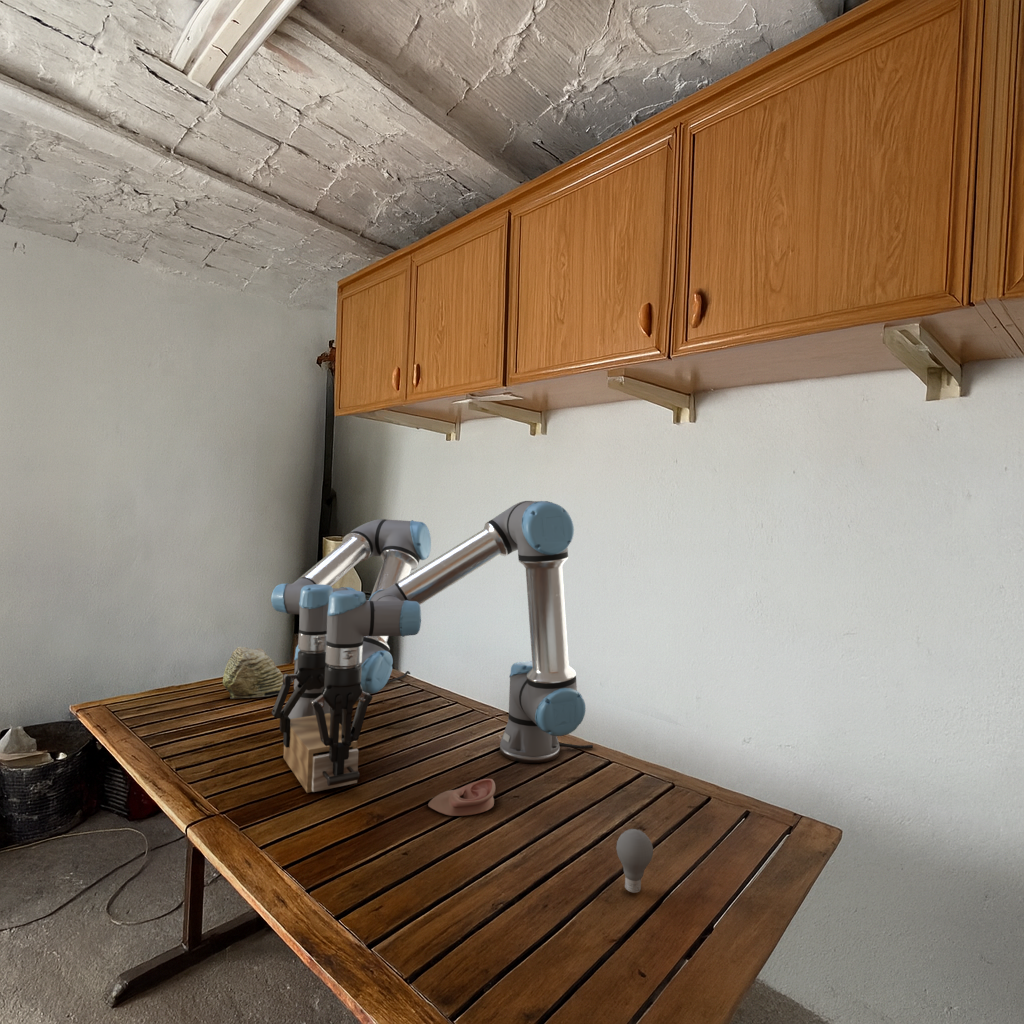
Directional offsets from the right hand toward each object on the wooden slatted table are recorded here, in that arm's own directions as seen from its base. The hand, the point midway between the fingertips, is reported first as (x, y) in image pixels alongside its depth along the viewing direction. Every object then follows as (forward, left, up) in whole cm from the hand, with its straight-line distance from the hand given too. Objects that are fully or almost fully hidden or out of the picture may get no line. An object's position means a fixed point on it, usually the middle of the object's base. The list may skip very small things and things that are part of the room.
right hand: (338, 775), depth 134 cm
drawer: (+2, -9, -4) cm, 10 cm away
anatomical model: (-25, +9, -5) cm, 27 cm away
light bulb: (-46, +45, -5) cm, 64 cm away
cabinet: (+4, -14, -5) cm, 16 cm away
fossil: (+22, -74, -5) cm, 78 cm away
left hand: (+5, -21, 0) cm, 21 cm away
